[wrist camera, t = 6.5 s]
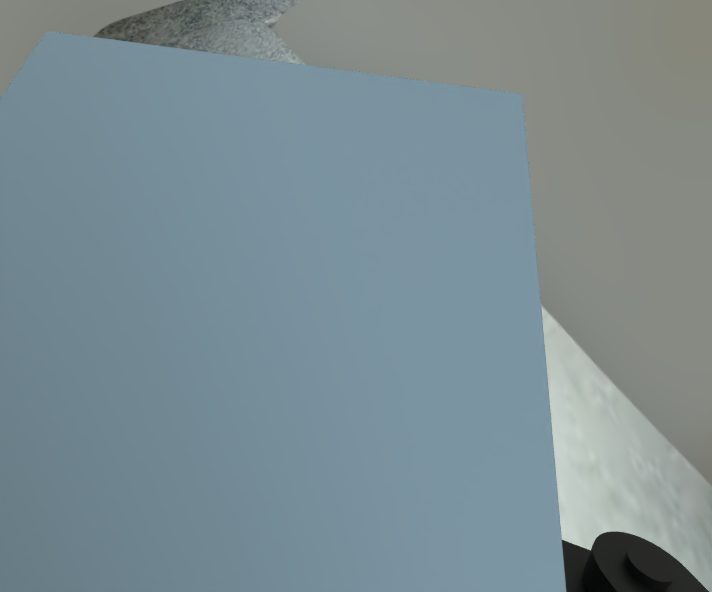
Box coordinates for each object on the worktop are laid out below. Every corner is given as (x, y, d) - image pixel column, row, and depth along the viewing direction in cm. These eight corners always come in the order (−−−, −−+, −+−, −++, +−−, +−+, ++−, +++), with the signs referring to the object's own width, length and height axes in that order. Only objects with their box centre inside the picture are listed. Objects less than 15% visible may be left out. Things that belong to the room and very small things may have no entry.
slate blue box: (377, 400, 17) (522, 93, 5) (358, 618, 14) (650, 1537, 1) (250, 384, 17) (47, 30, 5) (202, 599, 14) (-890, 1372, 1)
